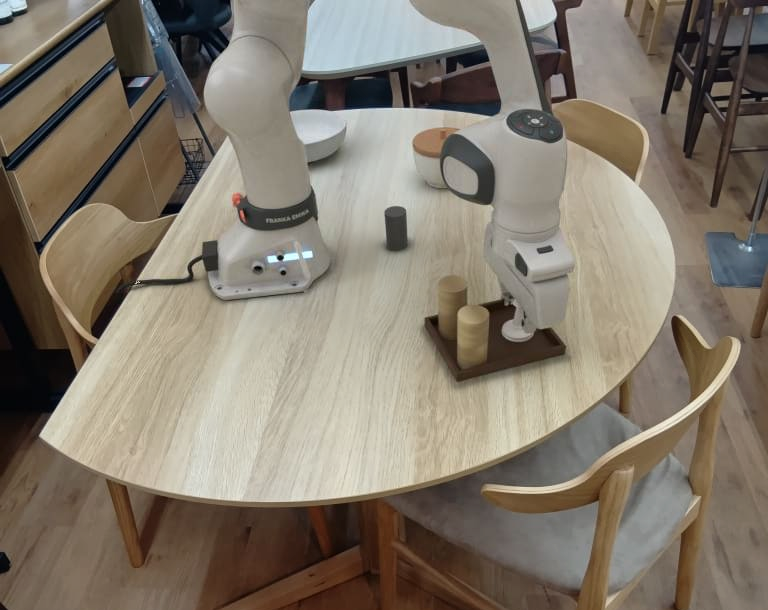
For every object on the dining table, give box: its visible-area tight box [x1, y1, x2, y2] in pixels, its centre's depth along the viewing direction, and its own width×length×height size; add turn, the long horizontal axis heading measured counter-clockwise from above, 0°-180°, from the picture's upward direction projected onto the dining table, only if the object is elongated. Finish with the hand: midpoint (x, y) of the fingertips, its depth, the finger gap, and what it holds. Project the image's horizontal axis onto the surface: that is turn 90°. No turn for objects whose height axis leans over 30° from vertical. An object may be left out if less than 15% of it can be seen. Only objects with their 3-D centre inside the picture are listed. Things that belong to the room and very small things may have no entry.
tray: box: [423, 298, 567, 383], centre depth 102 cm, size 17×14×2 cm
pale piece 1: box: [437, 274, 469, 340], centre depth 102 cm, size 4×4×9 cm
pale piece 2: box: [457, 304, 489, 370], centre depth 96 cm, size 4×4×9 cm
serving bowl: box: [290, 109, 348, 163], centre depth 156 cm, size 21×21×7 cm
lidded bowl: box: [411, 126, 461, 189], centre depth 140 cm, size 13×13×11 cm
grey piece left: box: [383, 205, 409, 251], centre depth 123 cm, size 4×4×7 cm
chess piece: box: [502, 300, 534, 342], centre depth 100 cm, size 5×5×10 cm
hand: (517, 315), depth 101 cm, fingers open, 6 cm apart
